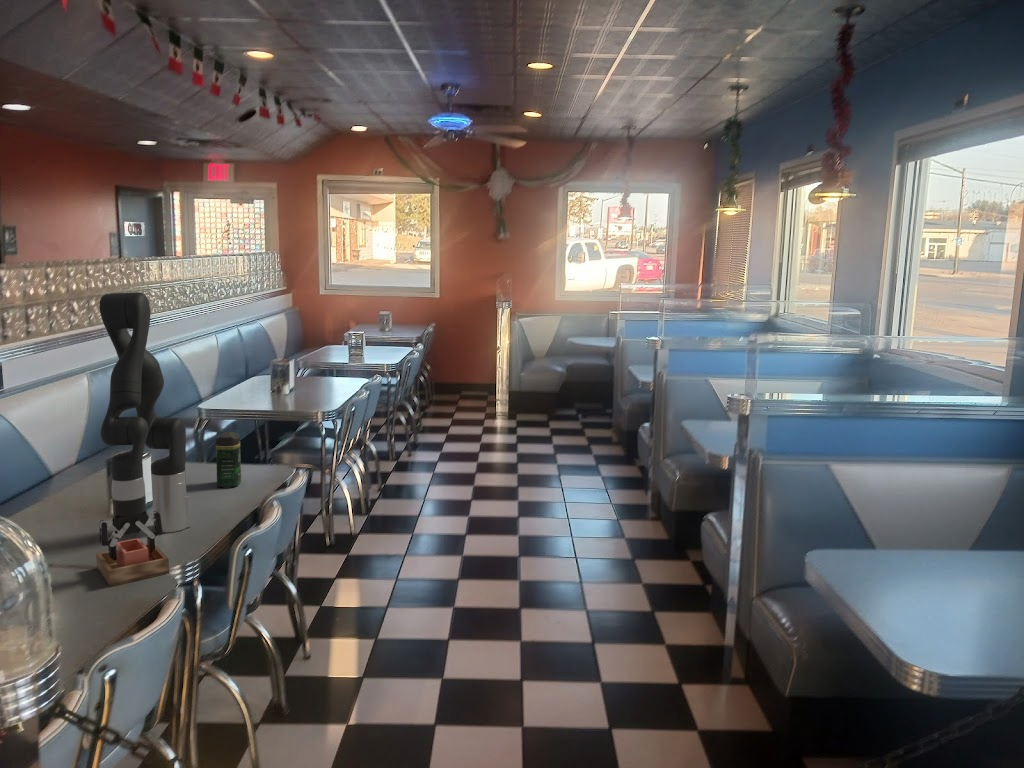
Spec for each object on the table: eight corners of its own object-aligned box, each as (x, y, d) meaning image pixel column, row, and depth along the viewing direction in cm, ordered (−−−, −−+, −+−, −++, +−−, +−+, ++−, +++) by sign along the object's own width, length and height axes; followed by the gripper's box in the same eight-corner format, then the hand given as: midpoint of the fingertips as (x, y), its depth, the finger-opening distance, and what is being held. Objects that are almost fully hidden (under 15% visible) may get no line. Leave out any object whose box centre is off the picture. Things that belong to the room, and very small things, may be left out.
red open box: (149, 570, 198) (148, 548, 197) (125, 576, 194) (124, 553, 193) (139, 559, 205) (138, 538, 204) (117, 564, 201) (115, 542, 200)
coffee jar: (239, 488, 270) (237, 436, 267) (215, 488, 269) (213, 436, 265) (243, 480, 279) (241, 429, 276) (220, 480, 278) (218, 430, 275)
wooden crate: (154, 556, 209) (153, 542, 208) (169, 573, 199) (168, 558, 198) (97, 568, 200) (96, 553, 200) (109, 586, 190) (108, 571, 189)
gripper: (101, 503, 189) (105, 566, 192) (163, 493, 198) (166, 553, 201) (94, 495, 195) (98, 557, 197) (154, 486, 203) (157, 544, 206)
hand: (132, 555), depth 199 cm, fingers open, 8 cm apart
